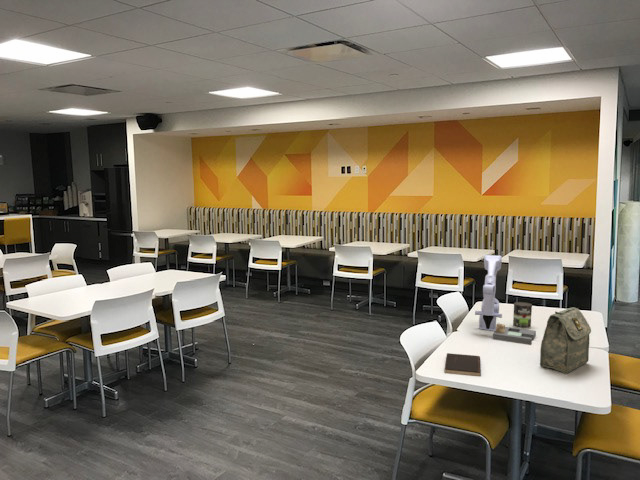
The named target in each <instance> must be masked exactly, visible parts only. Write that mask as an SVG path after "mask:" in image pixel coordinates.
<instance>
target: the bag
mask: <svg viewBox="0 0 640 480" xmlns="http://www.w3.org/2000/svg"><path fill="white" fill-rule="evenodd" d="M546 322H547V323H546V327H545V329H544V332H543V337H542V339H541V343H540V352H539V353H540V357H539V359H540V360H539V365H540V366H539V367H541V368H548V369H549V368H550V369H553V370H555V371H558V372H562V373H563V374H566V375H567V374H568V373H570V372H572V371H573V370H575V369H577V368H579V367H581V366H583V365H584V364H587V363H588V362H589V354H590V353H589V351H590V334H591V332H592V328H591V327H590V324H589V323H588V321H587V319H586V318H585V316H584V314H583V312H582V311H581V310H580V309H579V308H576V307H574V306H573V307H569V308H566V309H565V308H564V309H563V310H560V311H556V310H555V311H554V313H553V314H551V315H550V316H548V319H547V321H546Z"/></svg>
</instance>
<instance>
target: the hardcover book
mask: <svg viewBox="0 0 640 480" xmlns="http://www.w3.org/2000/svg"><path fill="white" fill-rule="evenodd" d="M481 365H482V364H481V356H479V355H473V354H472V355H471V354H461V353H460V354H459V353H448V352H447V353H446V358H445V367H444V370H445V373H447V374H457V375H468V376H479V377H482V369H481V368H482V367H481Z"/></svg>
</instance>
